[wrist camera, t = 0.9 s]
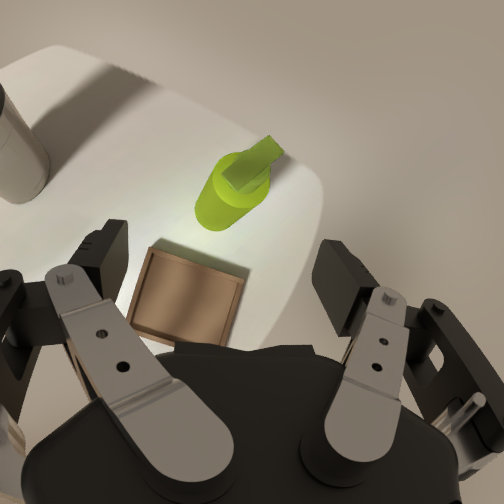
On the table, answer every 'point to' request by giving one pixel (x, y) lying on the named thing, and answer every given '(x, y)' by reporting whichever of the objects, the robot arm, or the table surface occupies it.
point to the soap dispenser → (236, 185)
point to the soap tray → (182, 301)
